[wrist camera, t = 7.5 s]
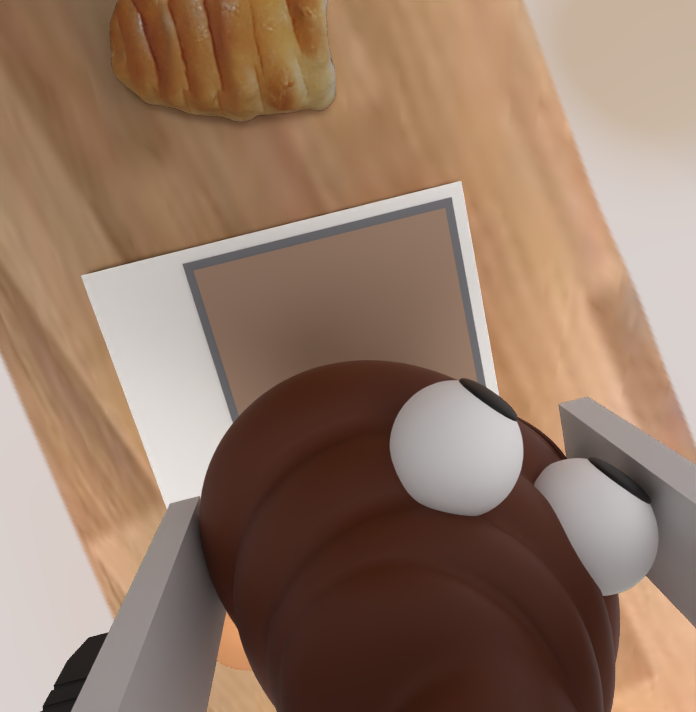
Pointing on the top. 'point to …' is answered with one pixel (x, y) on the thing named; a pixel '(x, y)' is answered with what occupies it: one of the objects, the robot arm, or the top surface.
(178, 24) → the pastry
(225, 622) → the button
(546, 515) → the poop emoji
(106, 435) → the top surface
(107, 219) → the top surface
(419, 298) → the picture board
